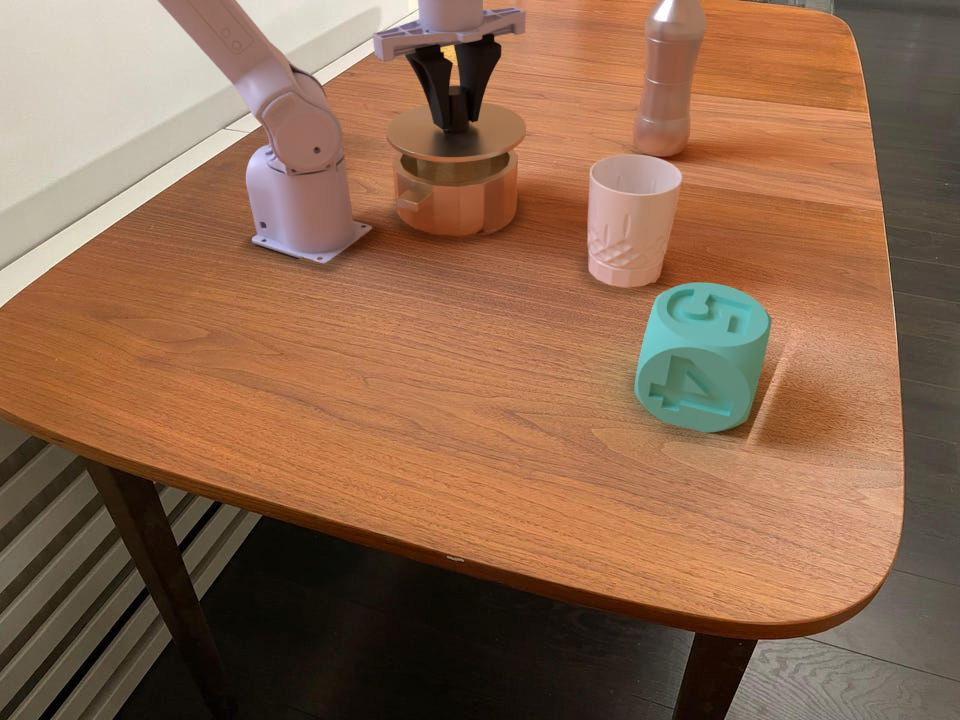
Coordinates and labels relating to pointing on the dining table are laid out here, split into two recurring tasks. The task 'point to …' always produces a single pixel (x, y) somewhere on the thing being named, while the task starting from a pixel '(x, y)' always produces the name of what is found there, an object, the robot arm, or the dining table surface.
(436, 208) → the pot
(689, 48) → the plastic bottle
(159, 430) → the dining table surface
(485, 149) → the lid
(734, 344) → the decorative dice
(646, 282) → the white cup
